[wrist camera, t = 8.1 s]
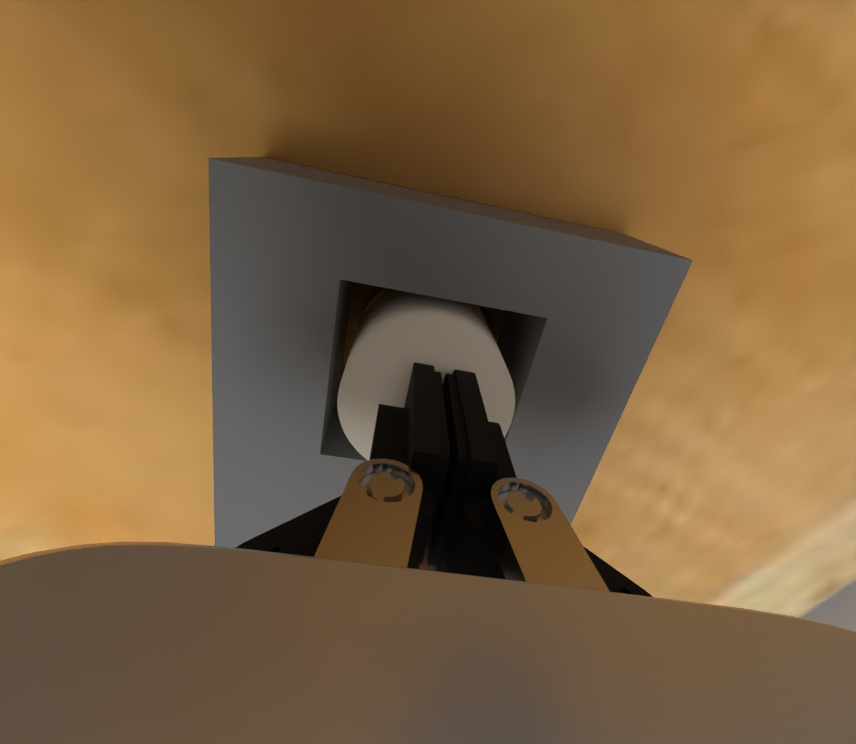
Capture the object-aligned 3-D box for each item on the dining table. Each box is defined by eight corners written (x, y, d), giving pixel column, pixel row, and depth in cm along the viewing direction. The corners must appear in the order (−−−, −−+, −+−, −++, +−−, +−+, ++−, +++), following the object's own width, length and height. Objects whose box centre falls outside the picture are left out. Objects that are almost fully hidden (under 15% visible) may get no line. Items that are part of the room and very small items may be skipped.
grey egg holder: (263, 156, 14) (208, 157, 10) (625, 234, 15) (692, 260, 11) (245, 681, 26) (218, 768, 22) (446, 698, 27) (451, 781, 23)
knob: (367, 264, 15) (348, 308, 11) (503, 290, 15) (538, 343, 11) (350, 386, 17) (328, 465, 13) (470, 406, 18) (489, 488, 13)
